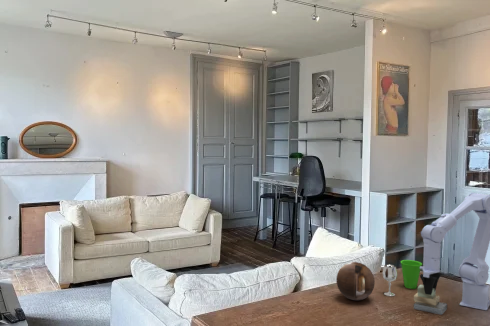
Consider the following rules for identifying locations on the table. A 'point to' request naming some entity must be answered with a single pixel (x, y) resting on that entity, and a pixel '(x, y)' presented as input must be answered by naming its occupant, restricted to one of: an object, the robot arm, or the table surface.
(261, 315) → the table surface
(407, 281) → the cup
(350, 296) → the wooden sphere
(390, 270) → the wineglass
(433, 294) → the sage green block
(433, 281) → the robot arm
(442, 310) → the dock
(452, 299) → the table surface
